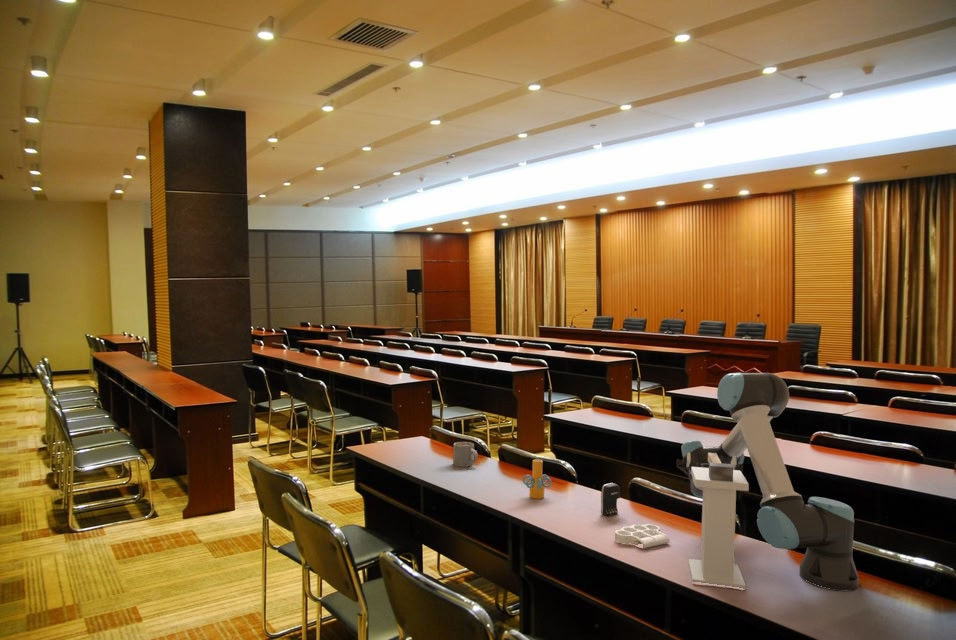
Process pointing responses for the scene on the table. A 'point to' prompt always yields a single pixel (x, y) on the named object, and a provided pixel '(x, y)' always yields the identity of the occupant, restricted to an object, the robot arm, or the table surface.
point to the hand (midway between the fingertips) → (711, 458)
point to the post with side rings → (537, 480)
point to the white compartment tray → (641, 535)
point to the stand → (717, 530)
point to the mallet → (719, 469)
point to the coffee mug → (464, 454)
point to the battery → (609, 499)
